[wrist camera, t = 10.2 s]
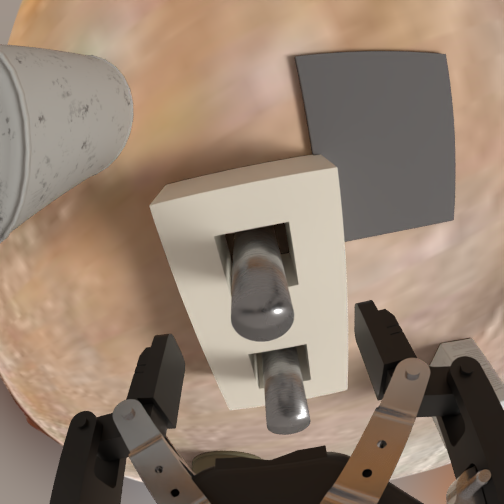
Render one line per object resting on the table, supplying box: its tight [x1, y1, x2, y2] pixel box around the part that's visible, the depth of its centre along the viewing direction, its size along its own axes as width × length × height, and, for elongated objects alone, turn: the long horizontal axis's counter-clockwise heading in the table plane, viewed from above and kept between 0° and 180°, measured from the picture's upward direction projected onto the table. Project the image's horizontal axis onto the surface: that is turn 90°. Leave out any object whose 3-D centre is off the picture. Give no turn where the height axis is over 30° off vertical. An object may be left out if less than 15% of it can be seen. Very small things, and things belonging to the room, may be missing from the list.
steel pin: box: [231, 225, 294, 342], centre depth 19 cm, size 3×3×10 cm
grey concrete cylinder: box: [0, 44, 133, 243], centre depth 14 cm, size 10×10×12 cm
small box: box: [430, 338, 504, 449], centre depth 28 cm, size 8×6×10 cm
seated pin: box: [261, 346, 310, 435], centre depth 24 cm, size 3×3×10 cm
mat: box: [295, 51, 455, 242], centre depth 21 cm, size 14×12×1 cm
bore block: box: [149, 154, 348, 410], centre depth 24 cm, size 20×11×4 cm, turn 11°
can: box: [192, 451, 261, 474], centre depth 39 cm, size 12×12×7 cm
